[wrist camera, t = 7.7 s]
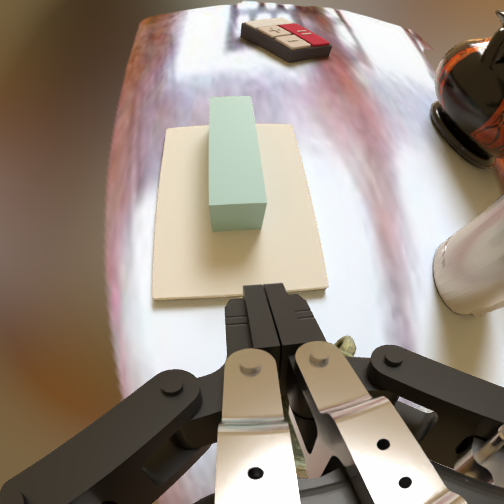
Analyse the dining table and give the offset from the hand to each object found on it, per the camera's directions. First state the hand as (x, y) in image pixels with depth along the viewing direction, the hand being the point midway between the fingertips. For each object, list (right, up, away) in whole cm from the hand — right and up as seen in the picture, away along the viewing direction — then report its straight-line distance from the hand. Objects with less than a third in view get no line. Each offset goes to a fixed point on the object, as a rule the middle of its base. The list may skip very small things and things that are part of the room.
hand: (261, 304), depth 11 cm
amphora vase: (+39, +24, +27) cm, 53 cm away
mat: (-2, +8, +17) cm, 18 cm away
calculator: (+6, +43, +33) cm, 54 cm away
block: (-2, +5, +12) cm, 13 cm away
